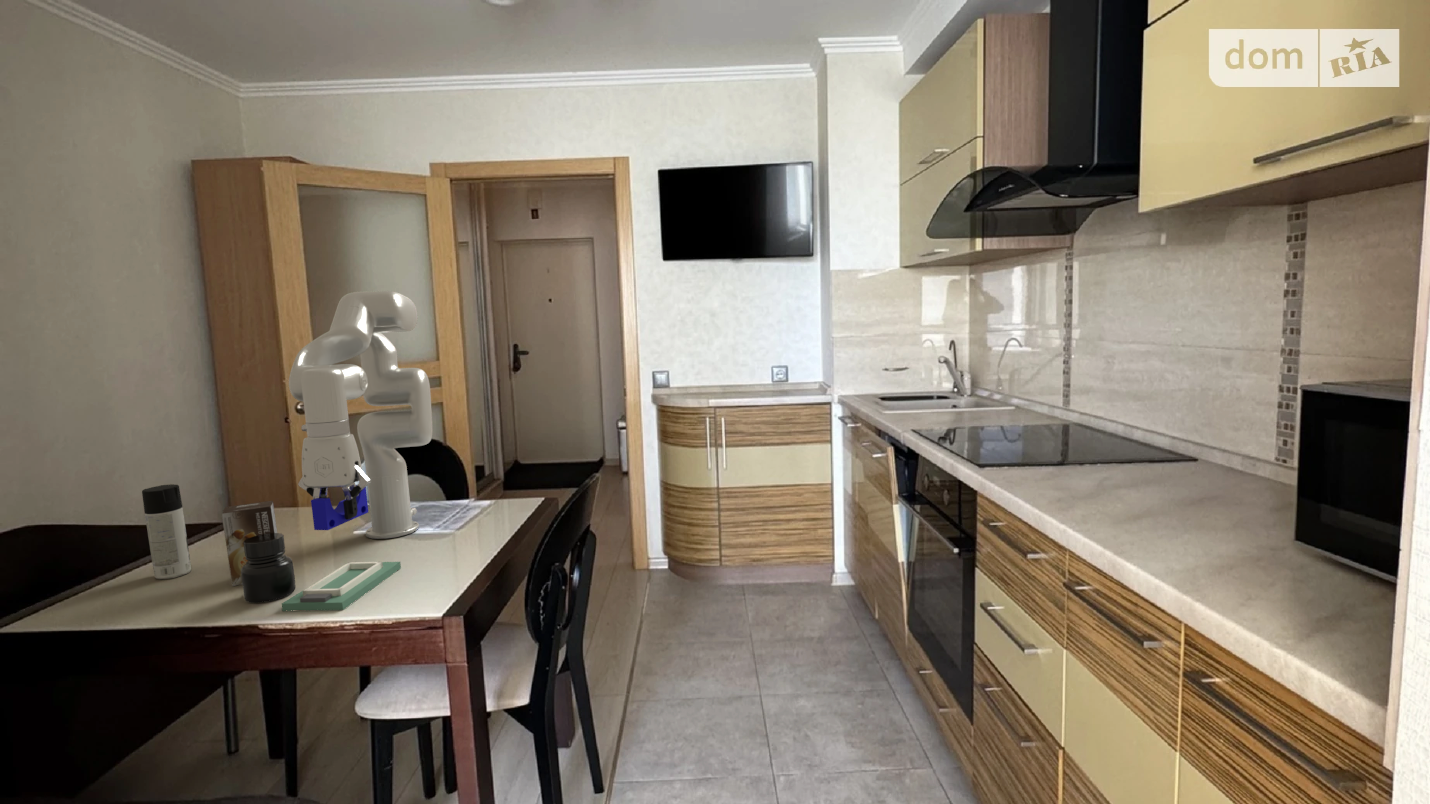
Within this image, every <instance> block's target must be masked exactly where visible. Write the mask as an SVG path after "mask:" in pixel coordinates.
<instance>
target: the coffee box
mask: <svg viewBox="0 0 1430 804" xmlns="http://www.w3.org/2000/svg"><path fill="white" fill-rule="evenodd" d="M221 519H222V526H223V532H224V539H225V546H226V552H227V561H228V567H229V571H230V578H231V579H230V580H231V586H232V587H235V586H236V587H237V586H241V585H242V577H241V569H242V567H243V566H244V565H245V564H246V562H247V561H248V560H246V556H245V551H244V544H243V542H244V540H246V539H248V538H251V537H254V536H257V535H262V534H269V533H278V529H277V521H276V513H275V506H274V501H273V500H269V501H261V502H260V501H259V502H254V503H253V502H252V503H246V504H245V503H244V504H239V505H230V506H225V507H224V508H223V510H222V513H221Z"/></svg>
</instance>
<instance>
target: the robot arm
mask: <svg viewBox="0 0 1430 804" xmlns="http://www.w3.org/2000/svg"><path fill="white" fill-rule="evenodd" d="M418 316H419V315H418V310H417V307H416V303H414V301H413V300H411V298H410V297H407V296H405V295H404V294H402V293H399V292H397V291H393V290H376V291H373V290H372V291H371V290H370V291H369V290H368V291H354V292H349V293H347V294H344V295H343V296H342V297H341V298H340V300H339V302H338V304H337V307H336V310H335V312H334V316H333V319H332V322H331V324H330V327H329V330H328V331H327V332H324V333H323V334H321V335H319V336H318V337H316V338H315V339H313V340H312V341H310V342H309V343H307V344H306V345H305V346H303V347H302V348H301V349H300V350H299V352H297V354H296V355H295V356H296V357H294V358H295V359H294V361H293V363H292V366H291V369H290V373H289V378H288V388H289V391H290V394H291V396H292V397H293V398H294V399H296V400H297V401H299V402H302V403H303V409H304V418H305V424H302V425H301V426H300V427H301V432H306V436H307V437H304V438H303V441H302V449H301V473H302V477H301V478H300V480H299V482H298V486H299V487H300V488H301V489H302V490H304V491H305V492H307V493H308V494H309V495H310V496H311V497H312V500H313V499H316V498H330V497H329V496H327V495H328V489H329V488H341V489H342V491H343V495H344V496H345V497H344V498H345V499H346V500H345V499H343V500H344V501H343V500H342V501H343V504H344V513H345V519H346V520H349V519H351V518H353V517H355V516H357V511H358V509H357V500H356V497H357V496H358V495H359V493H360V492H361V491H362V490H363V488H365V487H366V488H367V492H368V493H367V496H368V502H369V512H370V523H371V527H369V528H367V529H366V530H365V536H366V537H367V538H368V539H373V540H374V539H375V540H384V539H385V540H386V539H393V538H399V537H404V536H406V535H409V534H412V533H414V531H415V532H416V531H417V530H416V529H417V528H418V527H419V528H420V526H419V525H420V524H419V522H417V521H415V520H413V518H412V517H413V516H415V515H416V514H417V513H418V510H417V508H416V507H411V498H410V489H409V478H408V470H407V469H408V468H407V467H408V466H407V463H406V460H405V459H404V457H403V456H402V455H401V454H400V453H399V452H398V451H397V450H396V449H398V448H410V447H422V446H425V445H427V444H429V443H430V442H431V441H432V438H433V431H434V430H433V412H432V411H433V410H432V397H431V396H432V394H431V384H430V380H429V377H428V374H427V373H426V372H425V370H423V369H421V368H419V367H401V368H400V367H399V365H398V351H397V348H396V347H395V345H394V343H392V341H390V339H389V338H388V337H386V335H384V334H383V333H403V332H411V331H413V330H414V329H415V328H416V327H417V324H418V319H419V317H418ZM358 356H360V364H361V366H359V365H357V364H353V363H343V364H342V363H341V362H344V361H348V360H350V359H353V358H355V357H358ZM340 363H341V364H340ZM362 396H363V400H364V402H365V403H366V404H367V405H369V406H373V407H388V406H389V407H390V406H392V407H393V406H407V405H408V406H410V408H411V409H403V410H402V409H401V410H384V411H373V412H369V413H366V414H365V415H362V416H361V418H359V419H358V421H357V429H356V430H357V437H358V439H359V443H360V446H361V449H362V453H363V458H364V465H365V472H364V470H362V462H361V458H360V452H359V448H358V443H357V441H356V439H355V436H354V434H353V433H351V429H350V428H351V427H350V418H349V412H348V411H349V410H348V401H350V400H356V399H359V398H361V397H362ZM357 482H358V484H356V483H357ZM356 485H357V486H356ZM419 528H418V529H419Z"/></svg>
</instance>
